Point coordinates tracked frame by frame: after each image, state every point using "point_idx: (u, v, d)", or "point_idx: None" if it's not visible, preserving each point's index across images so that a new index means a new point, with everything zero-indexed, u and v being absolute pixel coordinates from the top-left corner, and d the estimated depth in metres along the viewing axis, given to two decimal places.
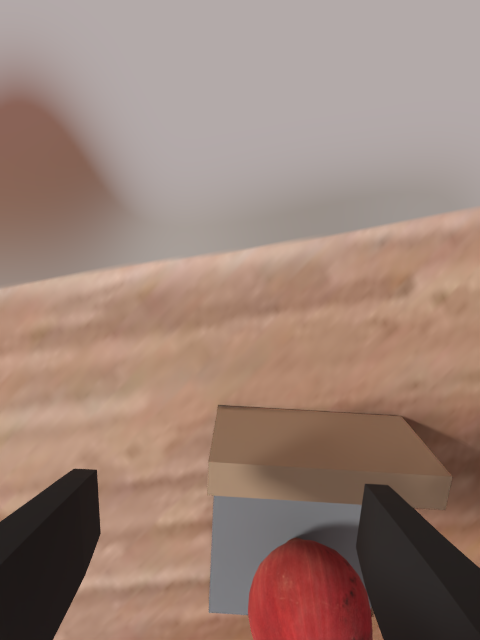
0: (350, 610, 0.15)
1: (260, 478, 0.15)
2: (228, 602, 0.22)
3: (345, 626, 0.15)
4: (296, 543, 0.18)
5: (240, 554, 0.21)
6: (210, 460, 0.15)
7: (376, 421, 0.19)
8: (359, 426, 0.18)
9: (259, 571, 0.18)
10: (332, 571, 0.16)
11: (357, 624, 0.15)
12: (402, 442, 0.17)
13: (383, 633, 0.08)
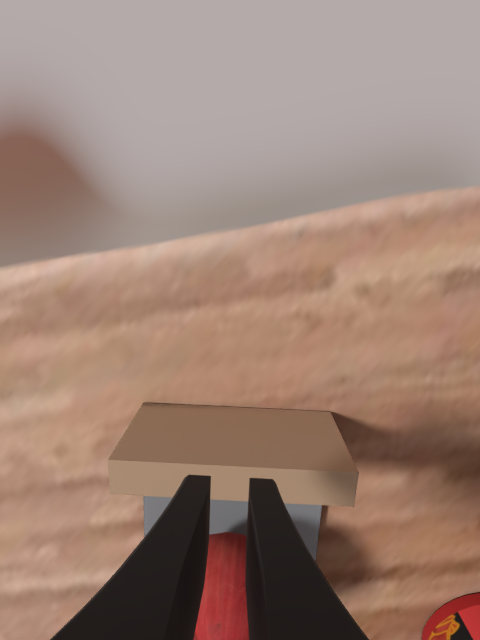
0: None
1: (162, 476, 0.14)
2: None
3: None
4: (218, 533, 0.18)
5: None
6: (110, 458, 0.14)
7: (302, 417, 0.18)
8: (282, 422, 0.18)
9: None
10: (245, 557, 0.16)
11: None
12: (319, 438, 0.16)
13: (248, 625, 0.08)
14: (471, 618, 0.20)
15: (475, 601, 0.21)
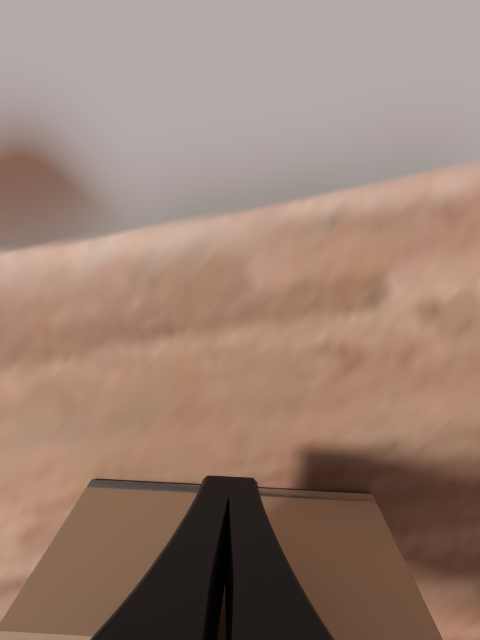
0: None
1: None
2: None
3: None
4: None
5: None
6: (1, 626, 0.08)
7: (331, 507, 0.12)
8: (302, 520, 0.11)
9: None
10: None
11: None
12: (366, 559, 0.10)
13: (226, 624, 0.08)
14: None
15: None
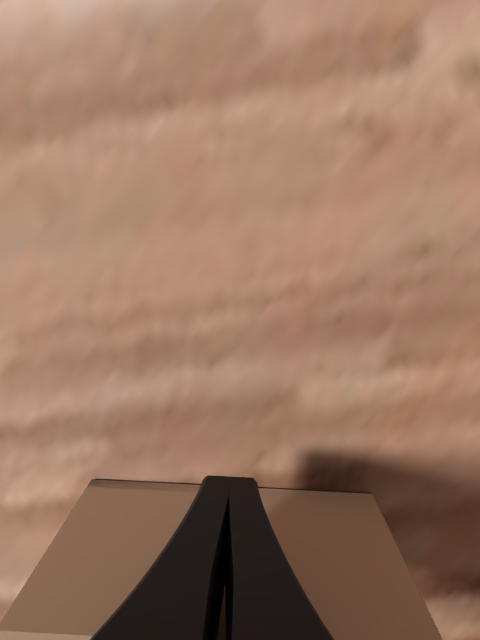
0: None
1: None
2: None
3: None
4: None
5: None
6: (1, 625, 0.08)
7: (331, 507, 0.12)
8: (301, 520, 0.11)
9: None
10: None
11: None
12: (366, 559, 0.10)
13: (226, 624, 0.08)
14: None
15: None
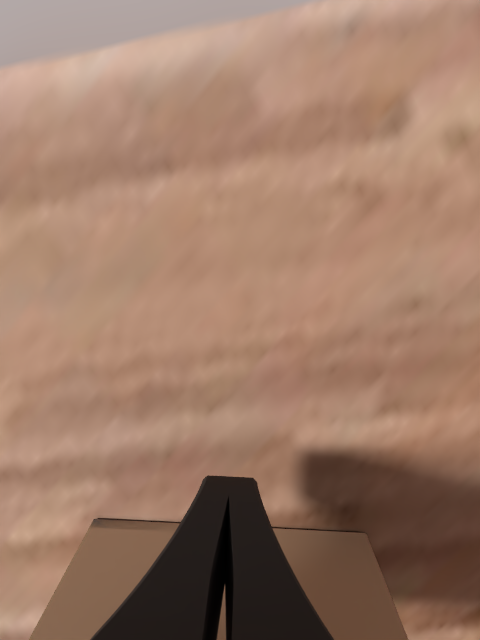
0: None
1: None
2: None
3: None
4: None
5: None
6: None
7: (326, 548, 0.12)
8: (297, 562, 0.12)
9: None
10: None
11: None
12: (358, 605, 0.10)
13: (226, 624, 0.08)
14: None
15: None
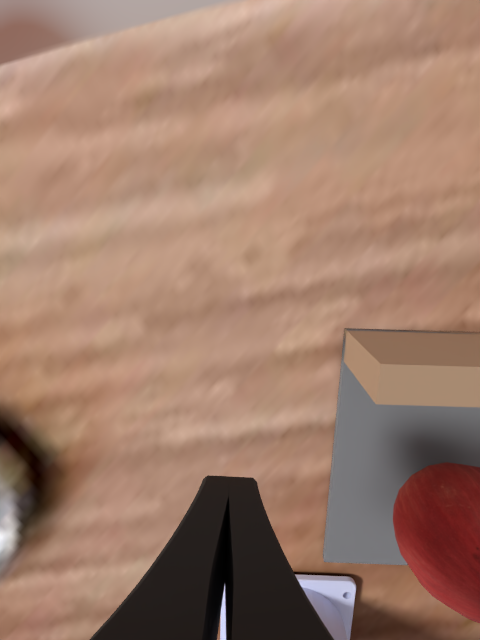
0: None
1: (438, 381, 0.13)
2: (346, 550, 0.21)
3: None
4: None
5: (362, 495, 0.20)
6: (381, 363, 0.13)
7: None
8: None
9: (405, 491, 0.16)
10: None
11: None
12: None
13: (226, 623, 0.08)
14: None
15: None
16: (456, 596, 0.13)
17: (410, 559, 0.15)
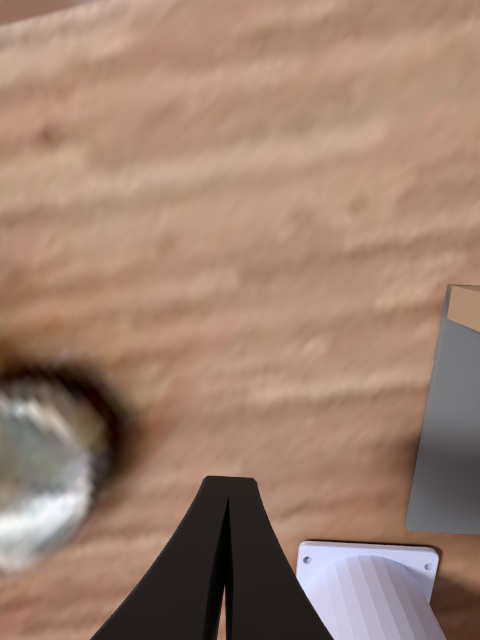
0: None
1: None
2: (431, 519, 0.20)
3: None
4: None
5: (453, 461, 0.19)
6: None
7: None
8: None
9: None
10: None
11: None
12: None
13: (226, 624, 0.08)
14: None
15: None
16: None
17: None
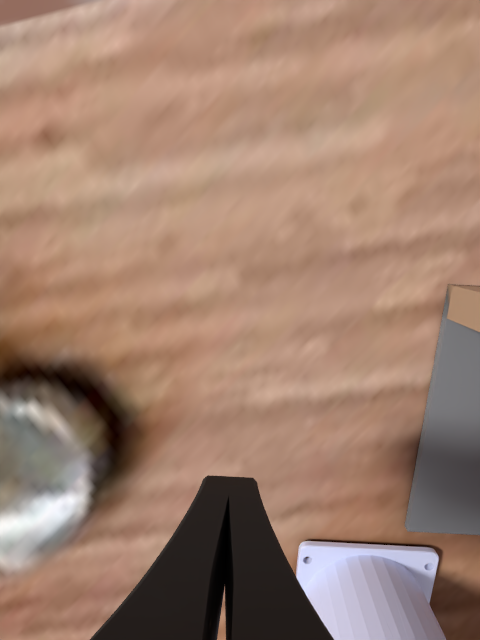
0: None
1: None
2: (431, 519, 0.20)
3: None
4: None
5: (453, 461, 0.19)
6: None
7: None
8: None
9: None
10: None
11: None
12: None
13: (226, 624, 0.08)
14: None
15: None
16: None
17: None
